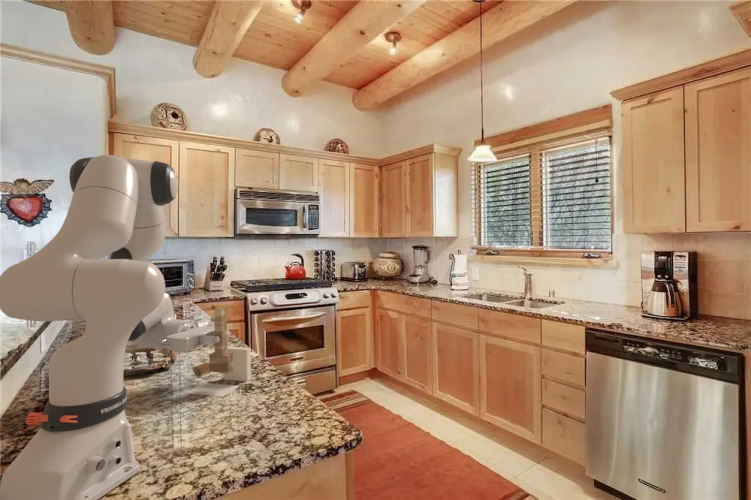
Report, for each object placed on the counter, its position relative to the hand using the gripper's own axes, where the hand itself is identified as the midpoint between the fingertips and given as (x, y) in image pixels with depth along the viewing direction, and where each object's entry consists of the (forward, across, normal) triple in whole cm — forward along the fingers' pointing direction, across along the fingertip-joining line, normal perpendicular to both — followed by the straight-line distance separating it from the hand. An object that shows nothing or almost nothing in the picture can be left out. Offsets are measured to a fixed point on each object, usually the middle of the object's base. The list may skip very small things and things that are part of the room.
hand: (223, 337), depth 113 cm
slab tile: (-1, +8, +15) cm, 17 cm away
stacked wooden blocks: (-1, 0, +10) cm, 10 cm away
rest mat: (-3, -1, +15) cm, 15 cm away
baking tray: (-41, +13, +16) cm, 46 cm away
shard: (-15, +14, +16) cm, 26 cm away
